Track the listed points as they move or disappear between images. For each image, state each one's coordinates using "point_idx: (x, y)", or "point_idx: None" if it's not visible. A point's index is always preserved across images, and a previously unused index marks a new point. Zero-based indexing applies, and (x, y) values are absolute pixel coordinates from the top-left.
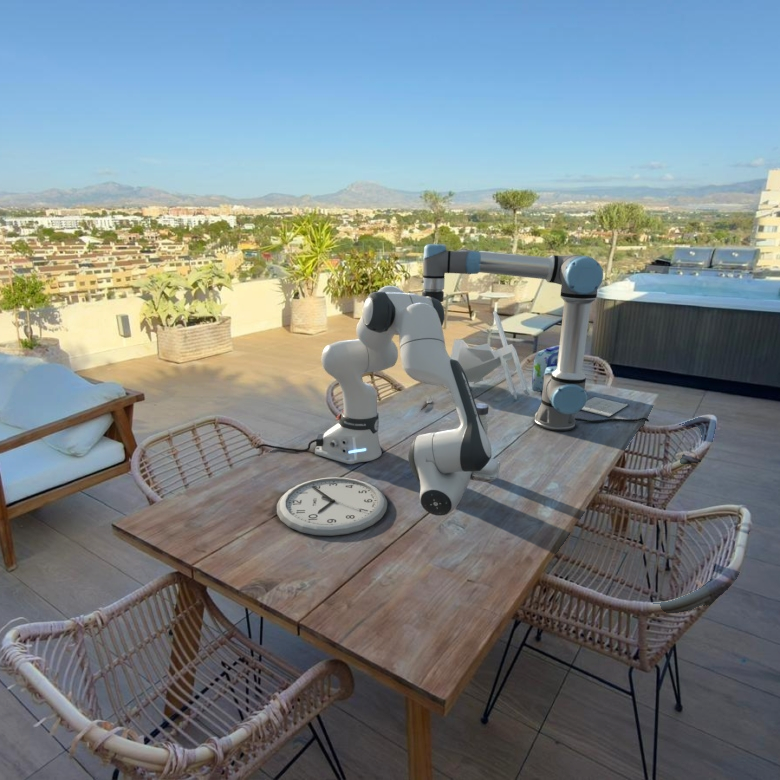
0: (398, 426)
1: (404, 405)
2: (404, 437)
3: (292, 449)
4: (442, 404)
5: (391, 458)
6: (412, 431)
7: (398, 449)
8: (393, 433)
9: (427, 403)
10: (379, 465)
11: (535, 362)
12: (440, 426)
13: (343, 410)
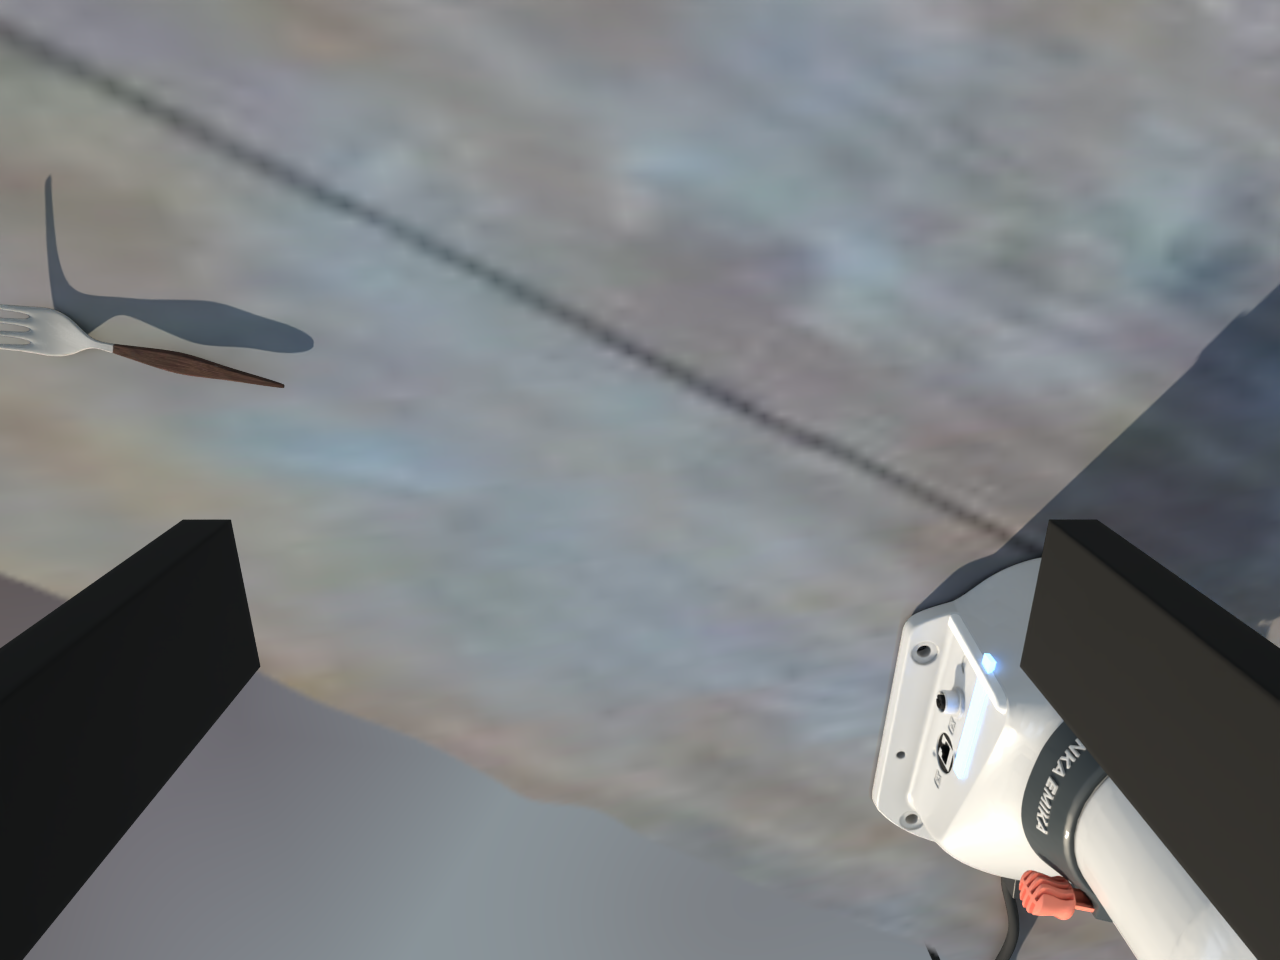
0: (620, 507)
1: (199, 507)
2: (802, 455)
3: (1018, 928)
4: (59, 220)
5: (1115, 496)
6: (695, 414)
7: (990, 472)
8: (744, 524)
9: (122, 346)
10: (1201, 545)
11: None
12: (567, 223)
13: (1068, 916)
